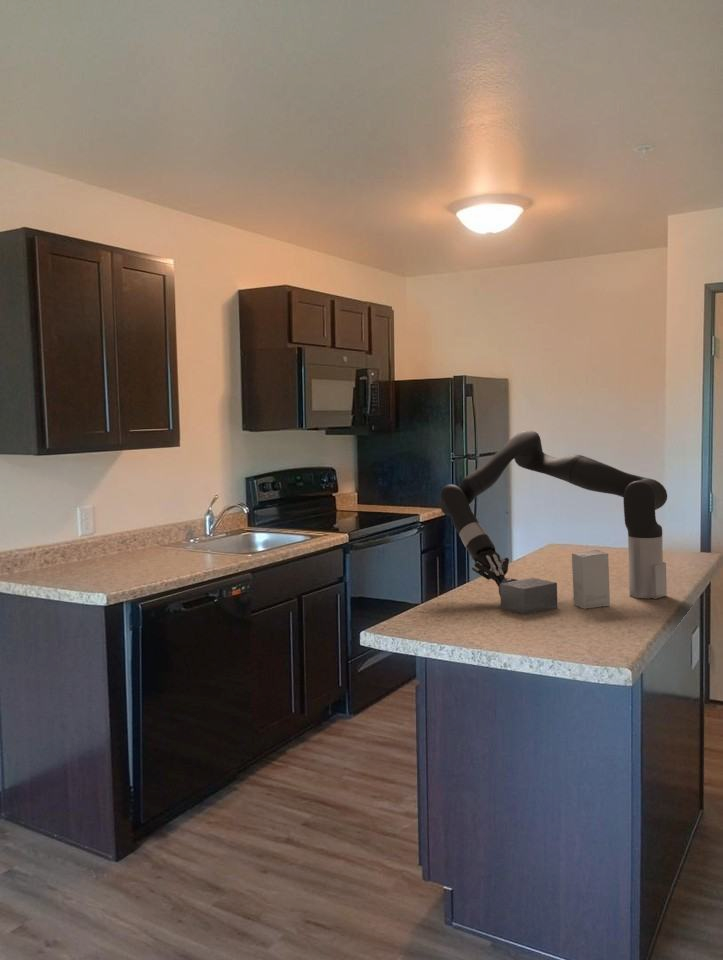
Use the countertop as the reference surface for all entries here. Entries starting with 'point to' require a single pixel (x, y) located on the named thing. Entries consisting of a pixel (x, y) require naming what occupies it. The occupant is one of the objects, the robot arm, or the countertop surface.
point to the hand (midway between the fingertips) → (505, 588)
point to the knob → (506, 582)
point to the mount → (528, 595)
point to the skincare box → (591, 579)
